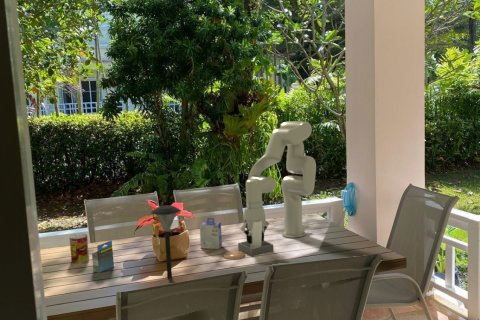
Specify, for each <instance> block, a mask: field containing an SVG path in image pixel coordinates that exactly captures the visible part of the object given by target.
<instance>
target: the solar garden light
mask: <svg viewBox="0 0 480 320" xmlns="http://www.w3.org/2000/svg"><path fill="white" fill-rule="evenodd" d="M180 212H181V209H180V208H178V207H176V206H174V205H169V204H167V205H159V206H157V207H156V208H154V209H153V210H152V211H150V214H152V215H155V216H156V218H157V219H158V221H159V223H160V225H161V226H162V229H163V230H164V242H165V245H164V246H165V258H166V262H165V263H166V274H167V275H166V277H167V279H171V278H173V275H172V274H173V273H172V257H171V253H172V252H171V240H170V239H171V237H170V231H171V228H172V224H173V222H174V220H175V217H176V215H177V214H178V213H180Z"/></svg>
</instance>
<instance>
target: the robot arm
mask: <svg viewBox="0 0 480 320" xmlns="http://www.w3.org/2000/svg"><path fill="white" fill-rule="evenodd" d="M311 134H312V125H311V123H309V122H308V121H296V120H295V121H294V120H293V121H291V120H289V121H284V122H282V123H280V126H279V128H276V129H274V130H273V131H272V133H271V135H270V137H269V141H268V144H267V146H266V149H265V152H264V154H263V156H261V157H260V158H259V159H258V160H257V161H256V162H255V163H254V164H253V165H252V167H251V168H250V169H251V170H250V171H249V174H248V178H247V180H246V181H245V196H246V197H245V198H246V200H245V201H246V207H245V208H244V212H243V224H242V226H241V227H240V230H241V231H242V232H243V233H244V234H245V235H246V241H247V243H249V244H252V236H251V230H252V229H253V222H259V221H262V241H265V232H266V230H267V228H268V227H269V225H270V223H269V221H267V220H266V214H265V209H264V206H263V205H264V204H265V202H264V201H263V194H265V193H266V194H267V193H272V192H273V191H274V190H275V189H276V186H277V183H276V180H275V179H274V178H272V177H270V176H263V175H261V174H262V173H263V171H265V170H266V169H267V168H269V167H271V166H273V165H275V164H278V163H280V162H281V160H282V157H283V154H284V151H285V149H286V146H287V153H286V166H285V167H286V171H287V172H288V173H291V174H298V175H299V176H298V175H286V176H284V177H283V178H282V179H281V185H280V186H281V191H282V195H283V224H284V229H283V230H282V231H281V236H283V237H285V238H289V239H295V238H296V239H297V238H302V237H304V236H306V231H305V230H308V229H310V225H309V224H308V225H307V224H306V225H304V224H303V202H302V198H301V196H306V197H307V196H308V197H309V196H311V195H313V192H314V190H315V183H316V172H317V164H316V160H315V158H313V157H312V156H309V155H304V154H305V153H304V152H305V145H304V141H306V139H308V138H309V137H310V136H311ZM300 175H302V176H300Z"/></svg>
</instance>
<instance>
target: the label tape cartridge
mask: <svg viewBox="0 0 480 320" xmlns="http://www.w3.org/2000/svg"><path fill="white" fill-rule="evenodd" d="M96 247H97V251H95V252H92V253H91V257H92V260H91V261H92V271H93V273H98V274H100V273H102V272H104V271H106V270H107V271H108V270H109V269H111V268H113V267H115V262H114V254H113V253H114V250H113V240H112V239H111V240H109V241H107V242H104V243H101V244H97V246H96Z"/></svg>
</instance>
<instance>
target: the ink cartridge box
mask: <svg viewBox="0 0 480 320" xmlns="http://www.w3.org/2000/svg"><path fill="white" fill-rule="evenodd" d="M199 237H200V239H199V240H200V249H207V250H208V249H210V250H211V249H214V250H215V249H216V250H219V249H221V248H222V247H223V241H222V240H223V239H222V237H223V236H222V223H221V222H215V218H214V217H211V218H210V217H208V218H207V221H206V222H201V223H200V224H199Z"/></svg>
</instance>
